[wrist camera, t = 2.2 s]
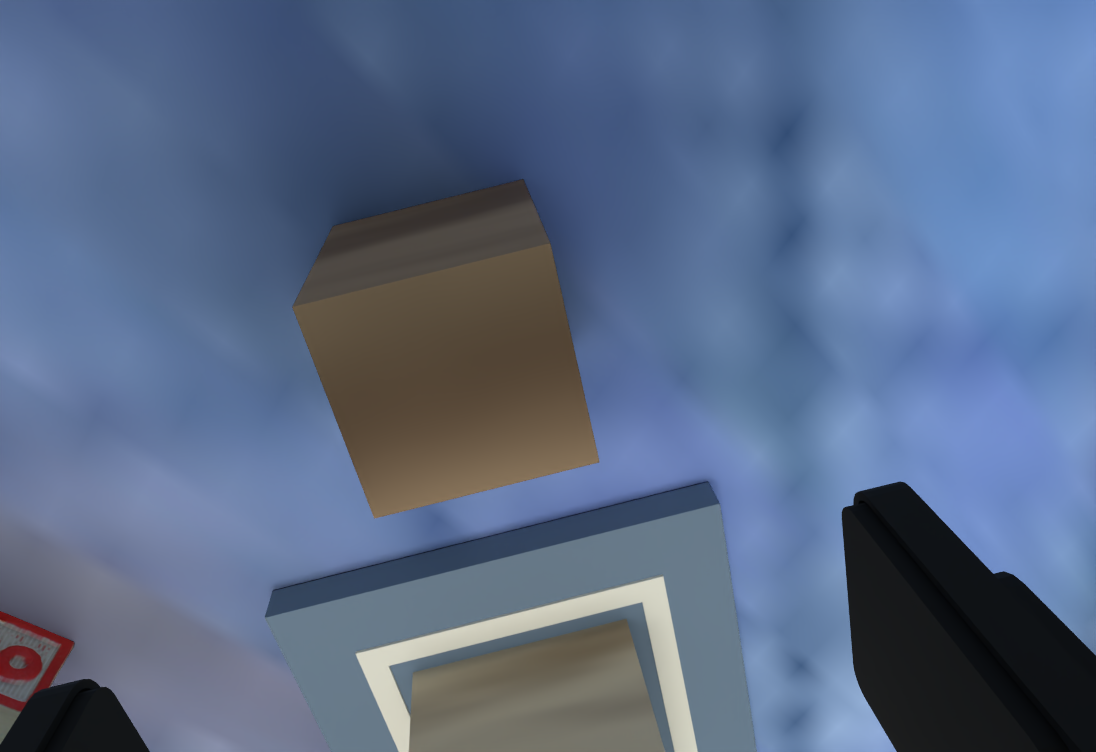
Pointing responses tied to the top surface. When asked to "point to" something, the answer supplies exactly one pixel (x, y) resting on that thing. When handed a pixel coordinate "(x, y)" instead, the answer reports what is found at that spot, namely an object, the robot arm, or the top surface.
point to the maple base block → (539, 698)
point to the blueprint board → (530, 619)
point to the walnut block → (446, 349)
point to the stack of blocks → (26, 665)
